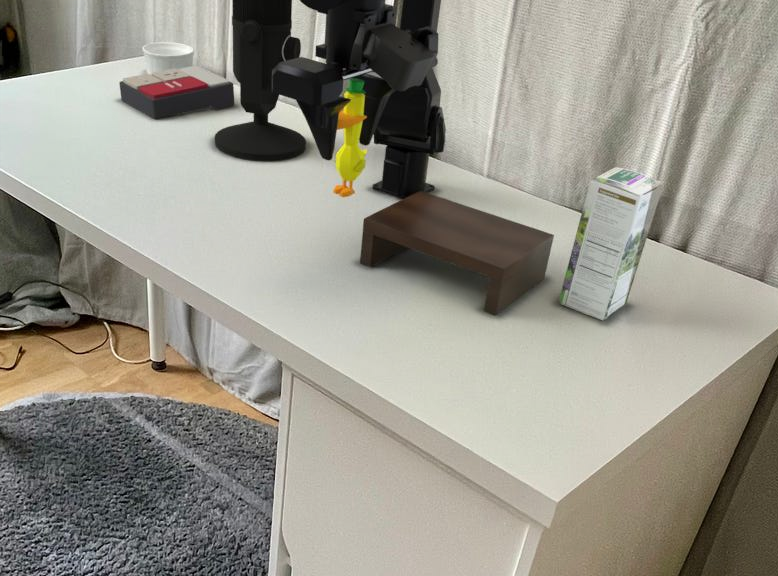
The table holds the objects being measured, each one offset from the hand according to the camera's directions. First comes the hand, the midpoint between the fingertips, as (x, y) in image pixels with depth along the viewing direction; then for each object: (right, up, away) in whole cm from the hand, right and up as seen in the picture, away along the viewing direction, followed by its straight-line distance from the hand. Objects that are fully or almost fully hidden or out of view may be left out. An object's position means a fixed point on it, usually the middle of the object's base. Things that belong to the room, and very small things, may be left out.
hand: (345, 151), depth 96 cm
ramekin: (-32, +35, +63) cm, 79 cm away
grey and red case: (-28, +24, +50) cm, 62 cm away
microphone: (-13, +13, +37) cm, 42 cm away
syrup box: (+28, -16, +4) cm, 32 cm away
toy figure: (0, -4, +3) cm, 5 cm away
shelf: (+12, -11, +8) cm, 18 cm away
